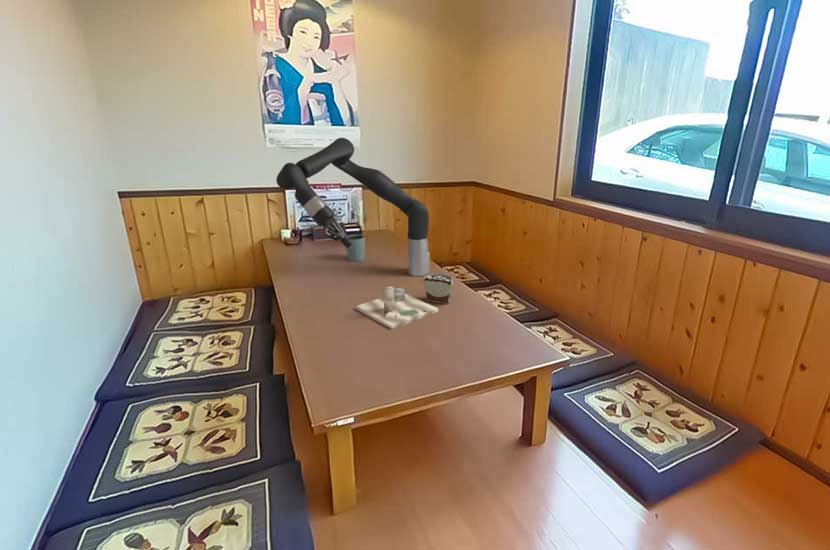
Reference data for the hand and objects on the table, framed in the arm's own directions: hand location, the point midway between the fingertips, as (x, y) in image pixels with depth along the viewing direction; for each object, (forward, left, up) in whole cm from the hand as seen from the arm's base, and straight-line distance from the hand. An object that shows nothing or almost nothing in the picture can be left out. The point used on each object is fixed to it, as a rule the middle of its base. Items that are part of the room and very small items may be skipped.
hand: (349, 246), depth 166 cm
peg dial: (-10, +13, -23) cm, 28 cm away
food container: (-29, +19, -24) cm, 42 cm away
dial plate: (-9, +15, -24) cm, 30 cm away
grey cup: (-33, -49, -24) cm, 64 cm away
